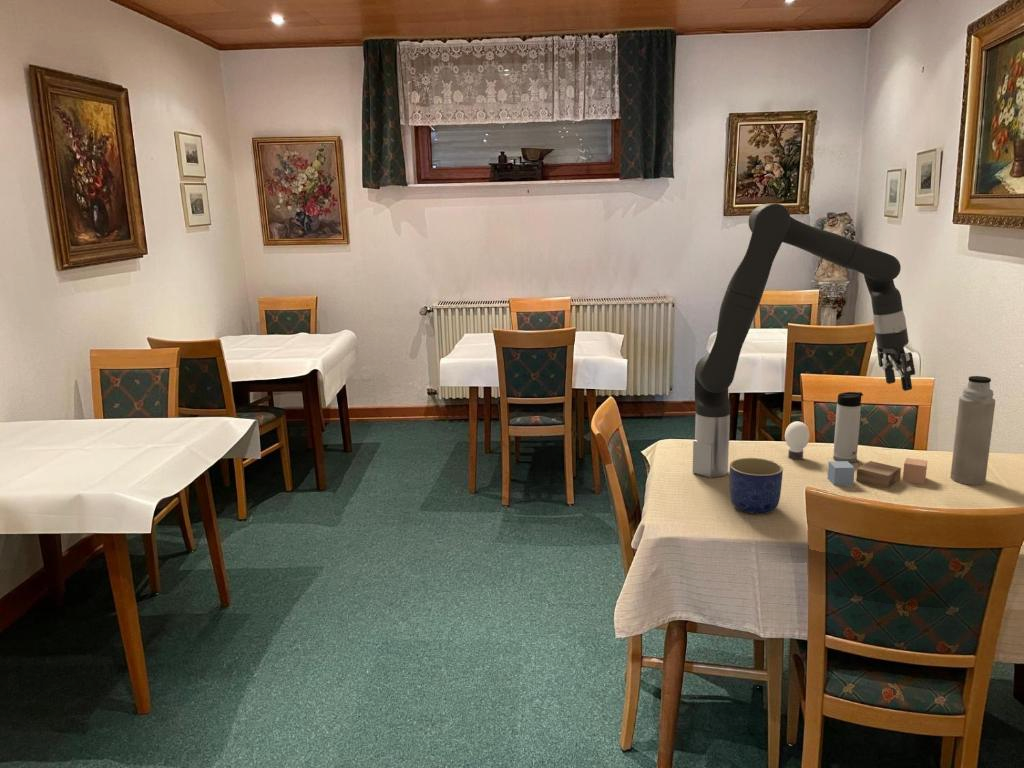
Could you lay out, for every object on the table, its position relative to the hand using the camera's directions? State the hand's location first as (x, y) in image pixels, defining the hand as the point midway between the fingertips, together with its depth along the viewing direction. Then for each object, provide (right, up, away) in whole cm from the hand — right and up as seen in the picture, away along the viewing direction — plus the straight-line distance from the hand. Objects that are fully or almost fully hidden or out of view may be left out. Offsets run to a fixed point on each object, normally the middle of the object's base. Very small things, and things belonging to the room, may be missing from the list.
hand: (899, 386), depth 197 cm
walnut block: (-6, -26, 0) cm, 26 cm away
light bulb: (-20, -21, +20) cm, 35 cm away
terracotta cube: (+4, -25, 0) cm, 25 cm away
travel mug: (-7, -22, +17) cm, 28 cm away
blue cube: (-16, -26, 0) cm, 30 cm away
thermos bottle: (+17, -25, -2) cm, 30 cm away
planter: (-44, -30, -14) cm, 55 cm away
